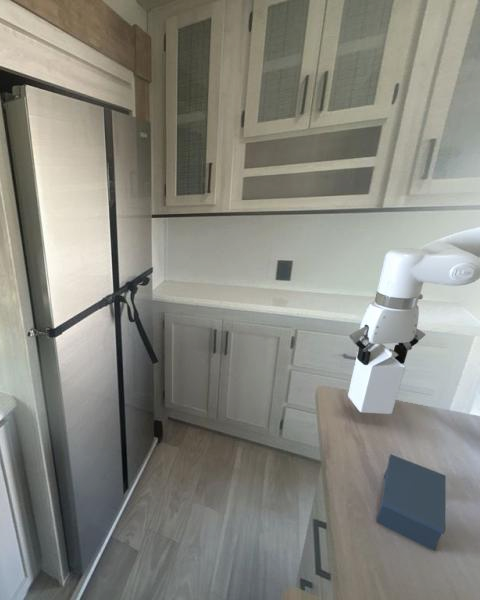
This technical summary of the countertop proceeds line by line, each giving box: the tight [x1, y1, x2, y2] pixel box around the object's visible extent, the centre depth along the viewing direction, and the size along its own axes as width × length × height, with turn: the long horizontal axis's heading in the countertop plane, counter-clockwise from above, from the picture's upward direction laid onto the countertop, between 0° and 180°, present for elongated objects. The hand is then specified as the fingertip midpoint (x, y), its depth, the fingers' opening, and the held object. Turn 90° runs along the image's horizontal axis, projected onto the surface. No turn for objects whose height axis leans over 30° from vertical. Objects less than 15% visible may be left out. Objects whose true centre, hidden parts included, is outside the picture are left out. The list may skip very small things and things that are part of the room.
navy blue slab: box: [376, 453, 447, 551], centre depth 68 cm, size 15×9×6 cm, turn 135°
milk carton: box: [347, 344, 406, 415], centre depth 88 cm, size 7×7×19 cm
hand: (379, 361), depth 86 cm, fingers closed on milk carton, 7 cm apart
